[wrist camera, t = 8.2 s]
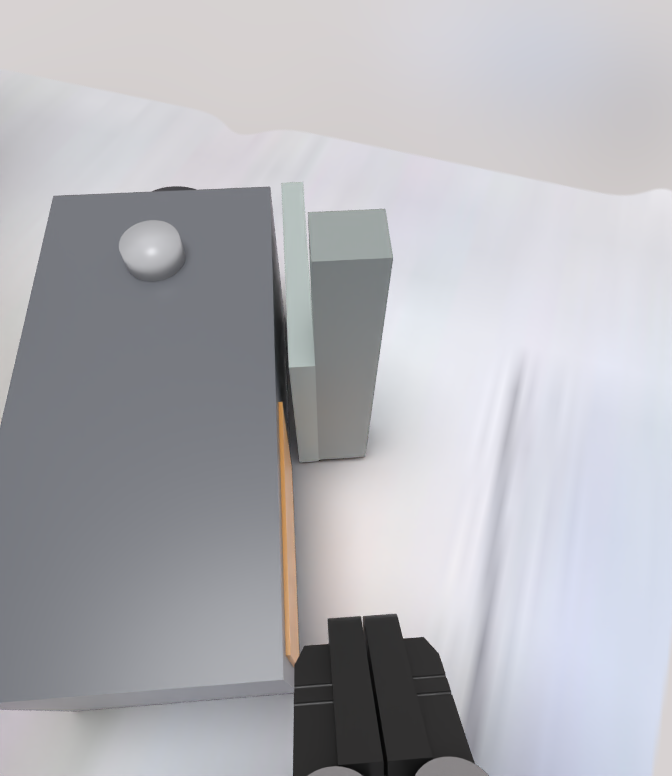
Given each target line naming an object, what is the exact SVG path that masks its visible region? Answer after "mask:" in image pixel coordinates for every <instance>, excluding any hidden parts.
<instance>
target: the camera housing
mask: <svg viewBox="0 0 672 776" xmlns="http://www.w3.org/2000/svg"><path fill="white" fill-rule="evenodd" d="M298 657H299V632H298V607H297V582H296V556H295V531H294V506H293V481H292V465H291V458H290V449H289V422H288V396H287V370H286V343H285V318H284V309H283V300H282V290H281V281H280V272H279V263H278V254H277V245H276V236H275V226H274V217H273V208H272V199H271V190H270V187H251V188H227V189H204V190H196V189H193V188H188V187H165V188H160V189H157V190H154V191H152V192H133V193H110V194H86V195H63V196H53V200H52V204H51V209H50V213H49V217H48V222H47V226H46V230H45V235H44V239H43V243H42V248H41V252H40V257H39V261H38V265H37V270H36V274H35V278H34V283H33V287H32V291H31V296H30V300H29V304H28V309H27V313H26V317H25V322H24V326H23V330H22V335H21V339H20V343H19V348H18V352H17V356H16V361H15V365H14V369H13V374H12V378H11V382H10V387H9V391H8V396H7V400H6V404H5V409H4V413H3V417H2V422H1V426H0V710H36V711H84V710H96V709H108V708H121V707H133V706H145V705H157V704H169V703H181V702H193V701H205V700H217V699H229V698H241V697H253V696H265V695H277V694H289V693H294V665H295V663H296V661H297V659H298Z"/></svg>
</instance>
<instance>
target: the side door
mask: <svg viewBox="0 0 672 776" xmlns="http://www.w3.org/2000/svg"><path fill="white" fill-rule="evenodd" d="M281 186H282V211H283V236H284V261H285V286H286V310H287V335H288V360H289V374H290V383H291V391H292V400H293V409H294V418H295V427H296V436H297V445H298V454H299V462H313V461H319V460H321V459H336V458H352V457H365V453H366V446H367V439H368V432H369V425H370V418H371V411H372V404H373V397H374V390H375V382H376V375H377V368H378V361H379V354H380V347H381V340H382V333H383V326H384V319H385V312H386V304H387V297H388V290H389V283H390V276H391V269H392V262H393V254H392V248H391V242H390V235H389V229H388V223H387V217H386V210H385V209H370V210H348V211H325V212H308V225H309V250H310V275H311V294H310V279H309V264H308V249H307V234H306V219H305V204H304V189H303V182H290V183H281ZM311 300H312V309H311Z"/></svg>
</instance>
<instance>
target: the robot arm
mask: <svg viewBox="0 0 672 776" xmlns="http://www.w3.org/2000/svg"><path fill="white" fill-rule="evenodd" d="M328 636H329V644H324V645H311V646H304V648H303V650H302V652H301V654H300V655H299V657H298V659H297V661H296V663H295V665H294V746H293V776H489V775H488V774H487V773H486V772H485V771H484V770H483V769H481V768H480V767H479V766H477V765H476V764H475V763H474V760H473V758H472V755H471V752H470V748H469V745H468V742H467V739H466V736H465V733H464V730H463V727H462V724H461V721H460V718H459V714H458V711H457V708H456V705H455V702H454V699H453V696H452V695H451V690H450V687H449V684H448V681H447V678H446V676H445V671H444V668H443V665H442V662H441V659H440V656H439V653H438V652H437V651H436V650H435V649H434V648H433V647H432V646H431V645H430V644H429V643H428V641H427V640H426V639H425V638H424V637H419V638H405V639H403V637H402V633H401V629H400V625H399V621H398V617H397V614H386V615H372V616H363V627H362V621H361V616H357V617H343V618H330V619H328Z"/></svg>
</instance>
